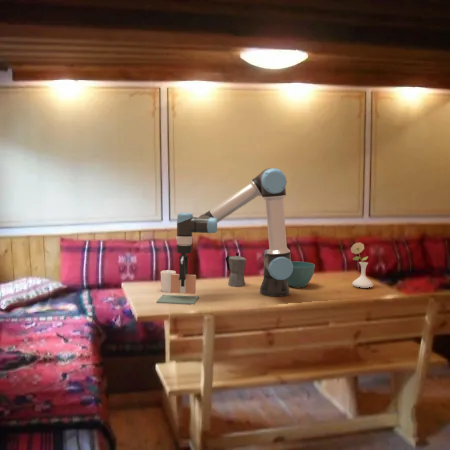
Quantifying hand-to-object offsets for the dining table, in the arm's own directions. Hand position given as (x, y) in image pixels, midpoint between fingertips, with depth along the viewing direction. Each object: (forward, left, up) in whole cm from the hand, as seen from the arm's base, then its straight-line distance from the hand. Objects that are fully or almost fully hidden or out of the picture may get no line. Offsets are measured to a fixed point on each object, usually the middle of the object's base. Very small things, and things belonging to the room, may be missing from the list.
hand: (183, 292), depth 294 cm
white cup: (+11, -16, -3) cm, 20 cm away
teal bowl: (-56, -42, -3) cm, 70 cm away
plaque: (0, 0, 0) cm, 1 cm away
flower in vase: (-91, -47, -3) cm, 103 cm away
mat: (+2, +4, -3) cm, 5 cm away
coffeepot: (-22, -38, -3) cm, 44 cm away
